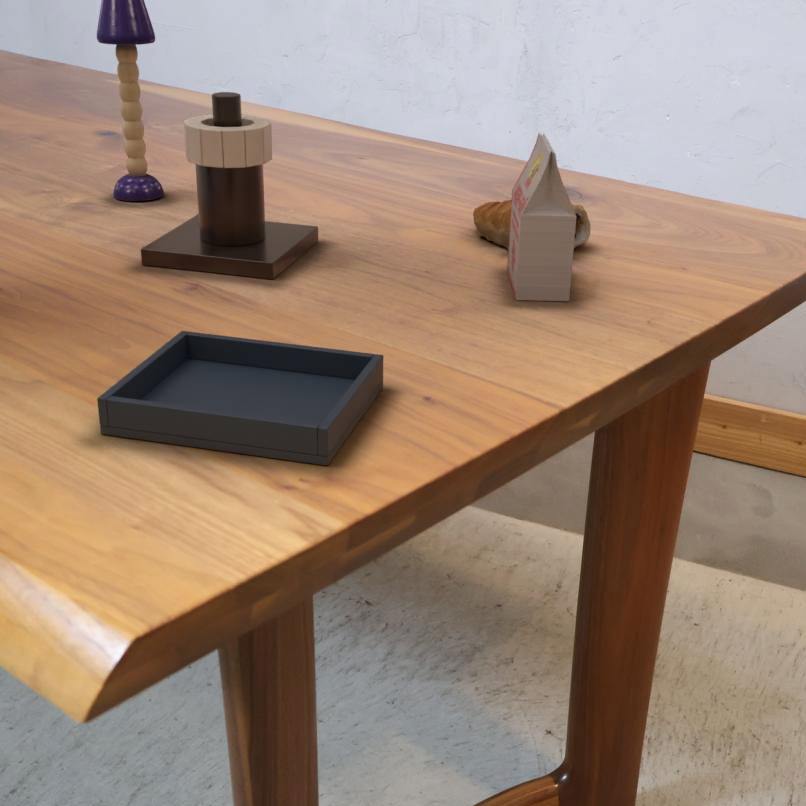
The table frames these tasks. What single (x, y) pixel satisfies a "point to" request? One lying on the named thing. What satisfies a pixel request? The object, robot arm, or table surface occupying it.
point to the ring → (228, 142)
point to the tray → (244, 397)
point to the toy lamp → (130, 91)
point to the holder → (230, 220)
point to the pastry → (496, 222)
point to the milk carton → (541, 230)
